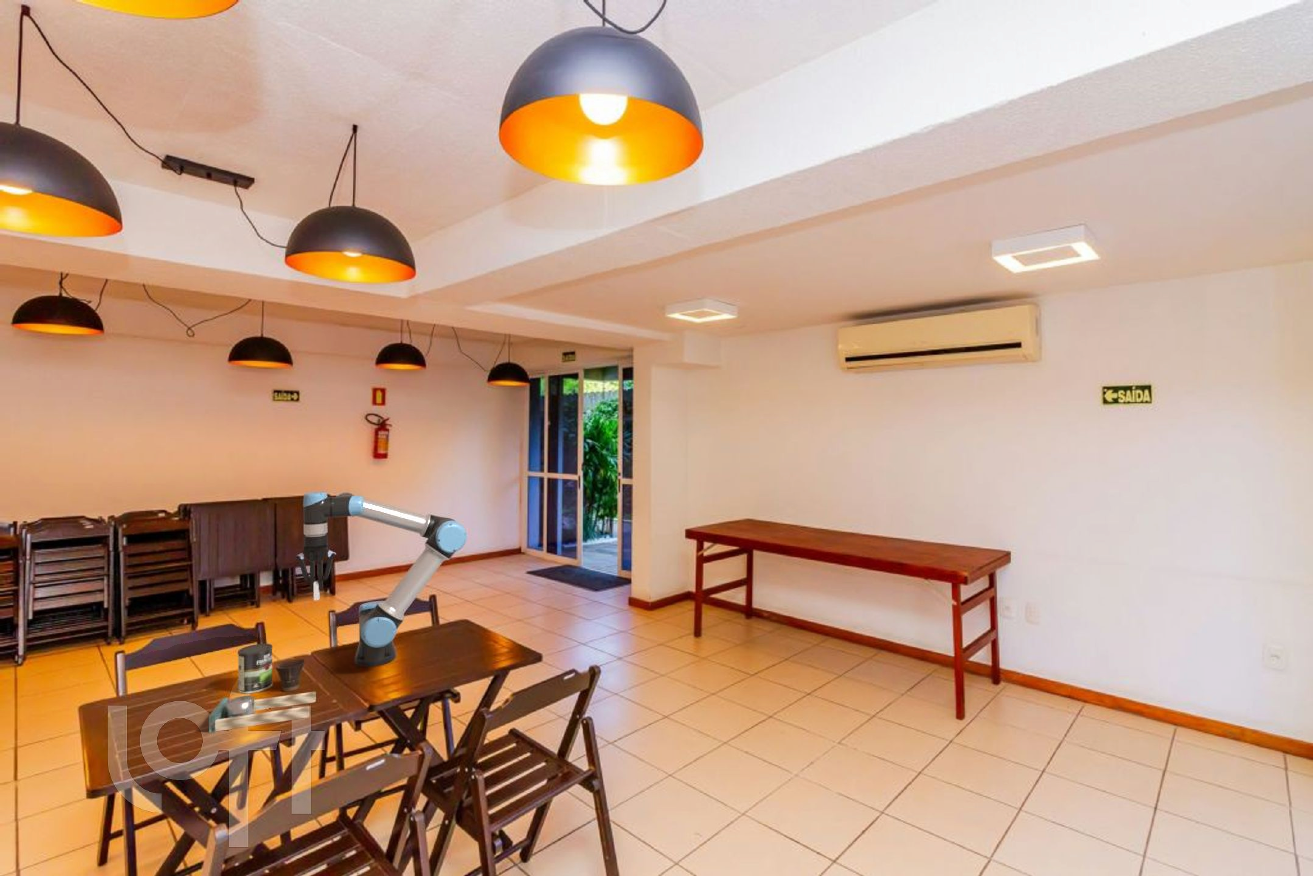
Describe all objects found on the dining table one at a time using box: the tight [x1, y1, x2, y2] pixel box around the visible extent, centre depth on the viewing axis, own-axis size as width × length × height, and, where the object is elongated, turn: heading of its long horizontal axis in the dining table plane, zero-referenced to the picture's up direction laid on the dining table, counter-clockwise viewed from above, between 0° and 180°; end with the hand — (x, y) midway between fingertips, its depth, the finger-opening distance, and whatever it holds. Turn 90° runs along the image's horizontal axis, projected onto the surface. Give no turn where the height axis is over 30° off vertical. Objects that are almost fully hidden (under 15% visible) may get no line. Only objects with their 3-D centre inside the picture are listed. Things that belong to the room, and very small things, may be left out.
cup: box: [274, 658, 306, 693], centre depth 212 cm, size 9×9×10 cm
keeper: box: [226, 695, 255, 718], centre depth 190 cm, size 7×7×6 cm
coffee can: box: [237, 643, 274, 695], centre depth 214 cm, size 10×10×14 cm
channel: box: [208, 691, 317, 733], centre depth 193 cm, size 26×13×5 cm, turn 111°
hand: (316, 599), depth 218 cm, fingers closed
